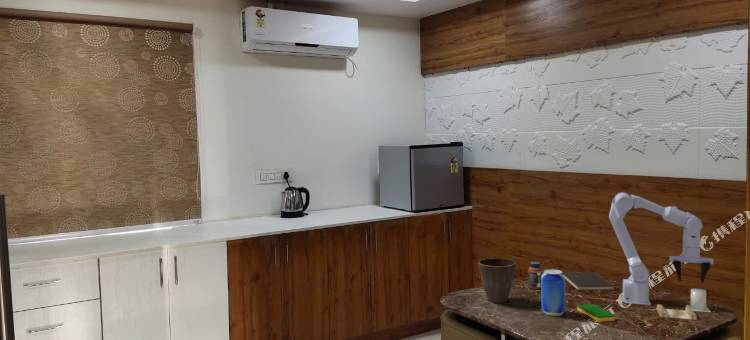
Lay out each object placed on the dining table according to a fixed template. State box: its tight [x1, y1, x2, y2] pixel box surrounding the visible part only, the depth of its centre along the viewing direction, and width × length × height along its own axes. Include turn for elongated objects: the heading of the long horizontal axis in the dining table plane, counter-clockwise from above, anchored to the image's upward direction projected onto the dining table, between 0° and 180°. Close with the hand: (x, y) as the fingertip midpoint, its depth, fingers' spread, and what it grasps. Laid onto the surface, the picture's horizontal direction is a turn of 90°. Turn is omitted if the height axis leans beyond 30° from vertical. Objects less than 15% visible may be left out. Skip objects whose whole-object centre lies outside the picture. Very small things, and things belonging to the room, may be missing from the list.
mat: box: [685, 304, 712, 313], centre depth 201 cm, size 7×7×1 cm
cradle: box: [655, 303, 699, 321], centre depth 196 cm, size 12×10×2 cm
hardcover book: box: [562, 271, 615, 291], centre depth 241 cm, size 16×23×2 cm
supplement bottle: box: [527, 261, 543, 290], centre depth 234 cm, size 6×6×11 cm
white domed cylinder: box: [690, 288, 707, 312], centre depth 202 cm, size 5×6×7 cm
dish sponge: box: [576, 303, 616, 323], centre depth 198 cm, size 7×14×2 cm, turn 10°
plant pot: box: [478, 257, 516, 304], centre depth 217 cm, size 15×15×16 cm
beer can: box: [540, 268, 566, 317], centre depth 201 cm, size 8×8×16 cm
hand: (690, 281), depth 205 cm, fingers open, 7 cm apart
